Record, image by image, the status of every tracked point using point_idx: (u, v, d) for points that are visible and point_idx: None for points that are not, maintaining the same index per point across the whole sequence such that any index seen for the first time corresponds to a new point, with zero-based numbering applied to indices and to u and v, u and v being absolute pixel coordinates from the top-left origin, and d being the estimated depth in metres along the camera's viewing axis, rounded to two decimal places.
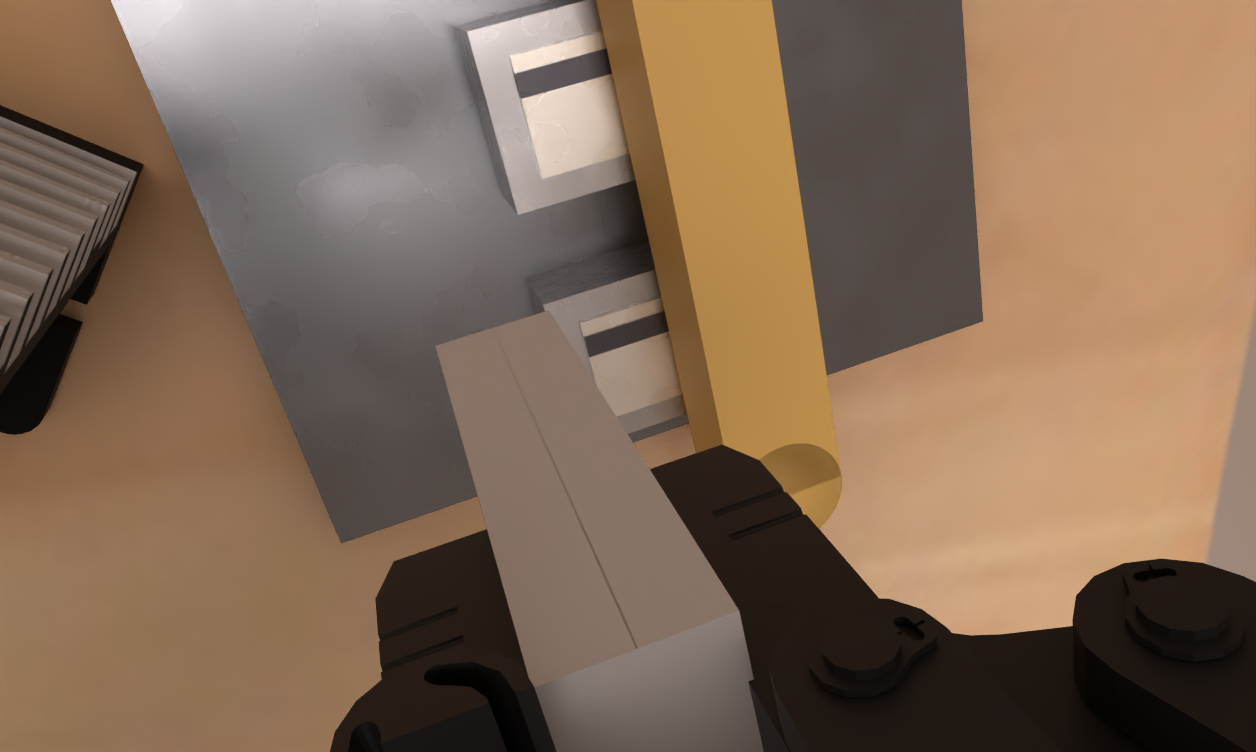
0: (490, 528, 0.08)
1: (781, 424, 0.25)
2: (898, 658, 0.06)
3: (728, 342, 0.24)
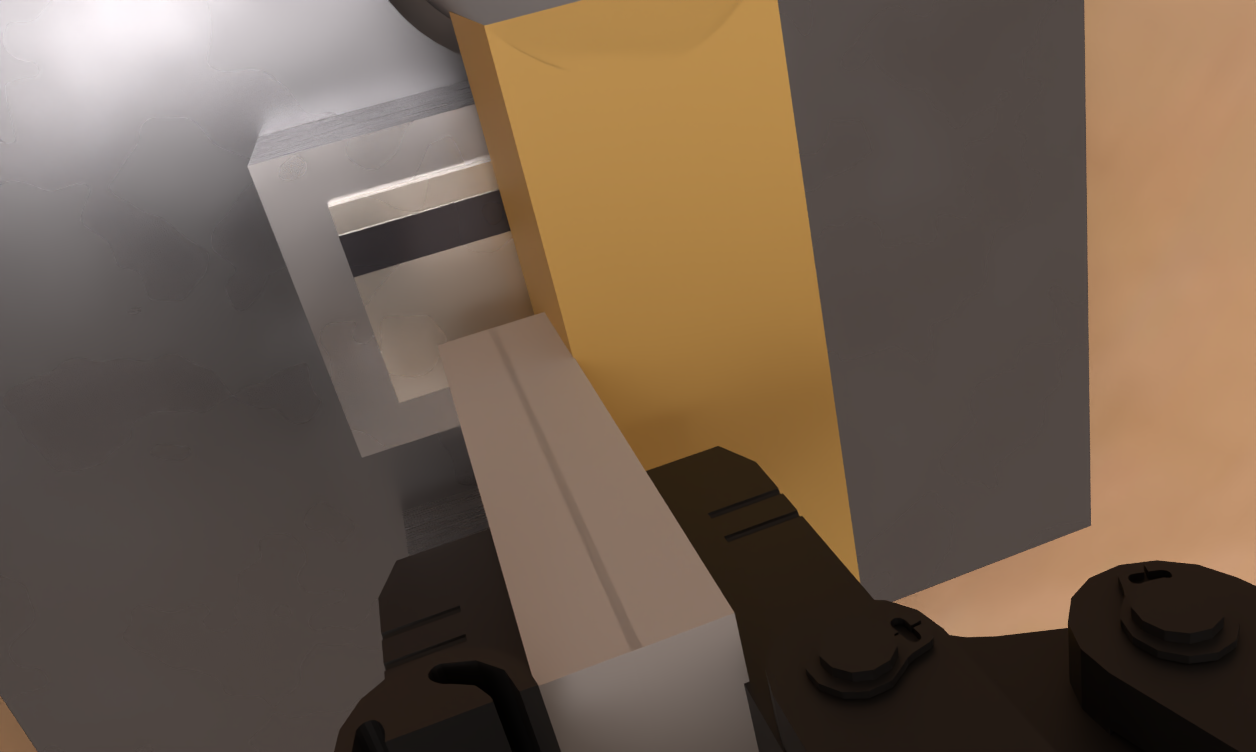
0: (493, 527, 0.08)
1: None
2: (894, 659, 0.06)
3: None
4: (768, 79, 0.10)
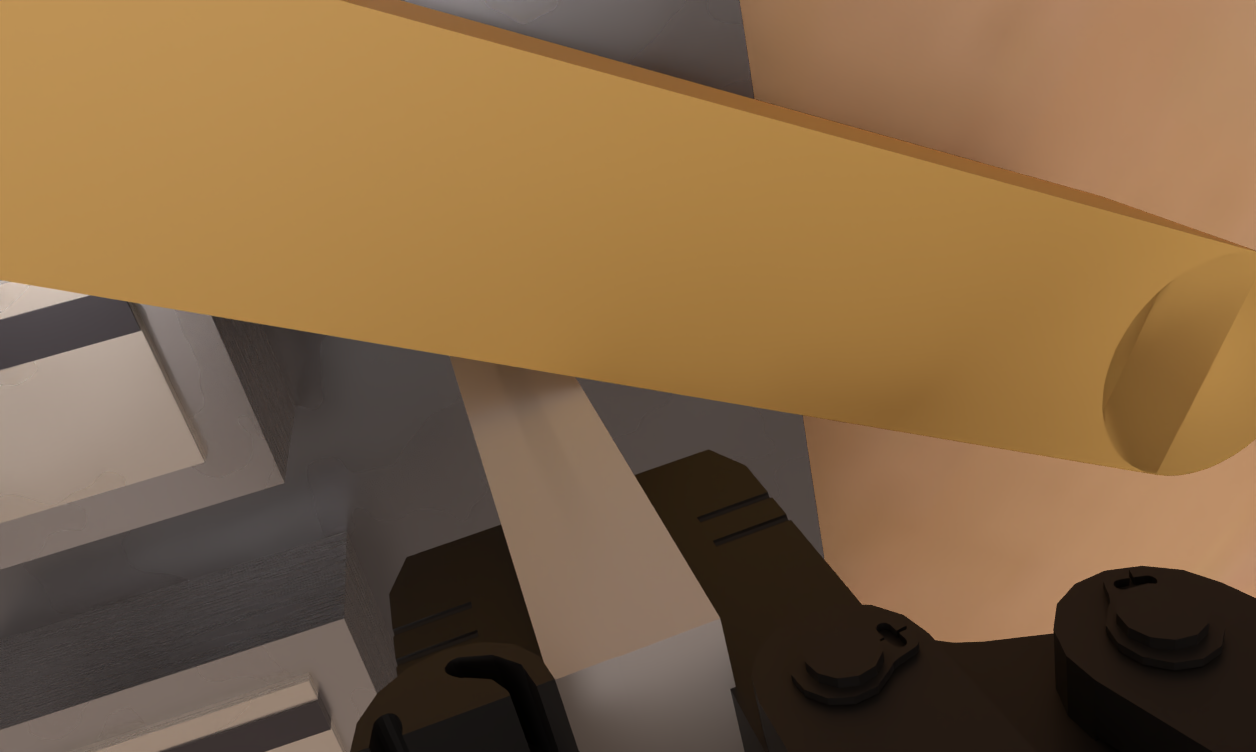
0: (504, 523, 0.08)
1: (1077, 331, 0.12)
2: (880, 665, 0.06)
3: (853, 368, 0.11)
4: None
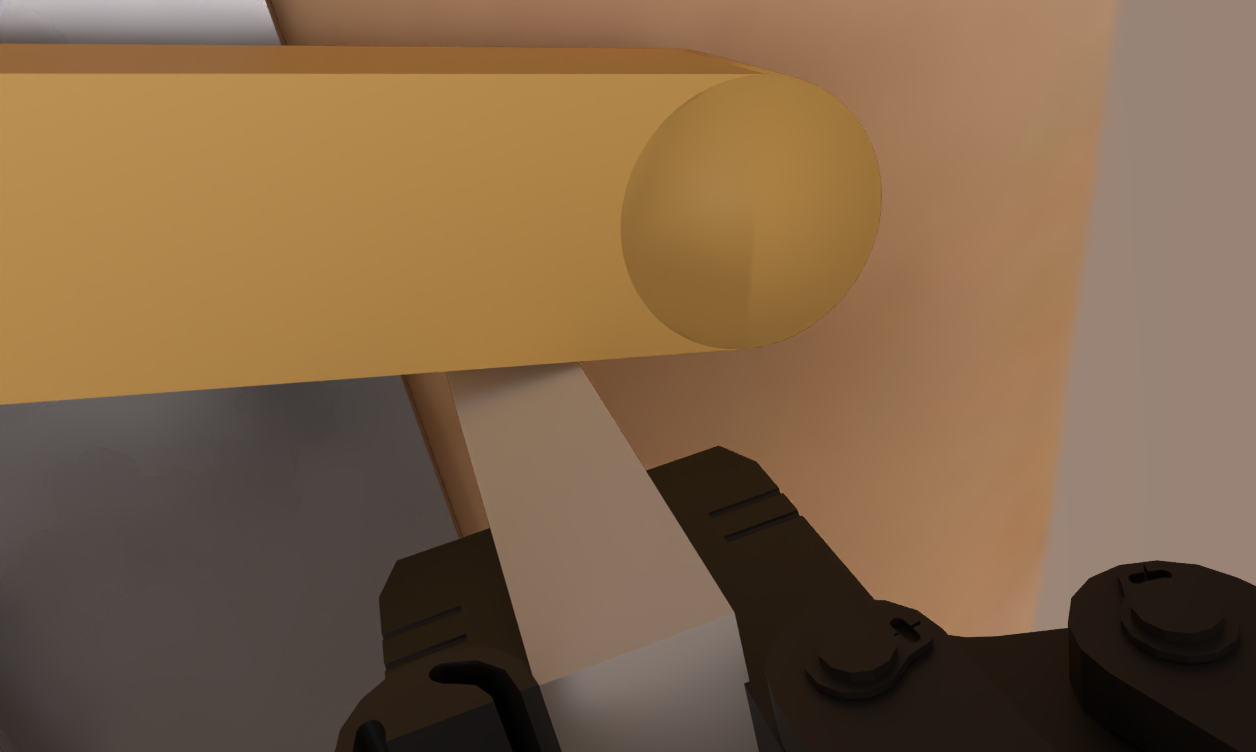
0: (493, 527, 0.08)
1: (561, 217, 0.10)
2: (894, 659, 0.06)
3: (296, 321, 0.10)
4: None
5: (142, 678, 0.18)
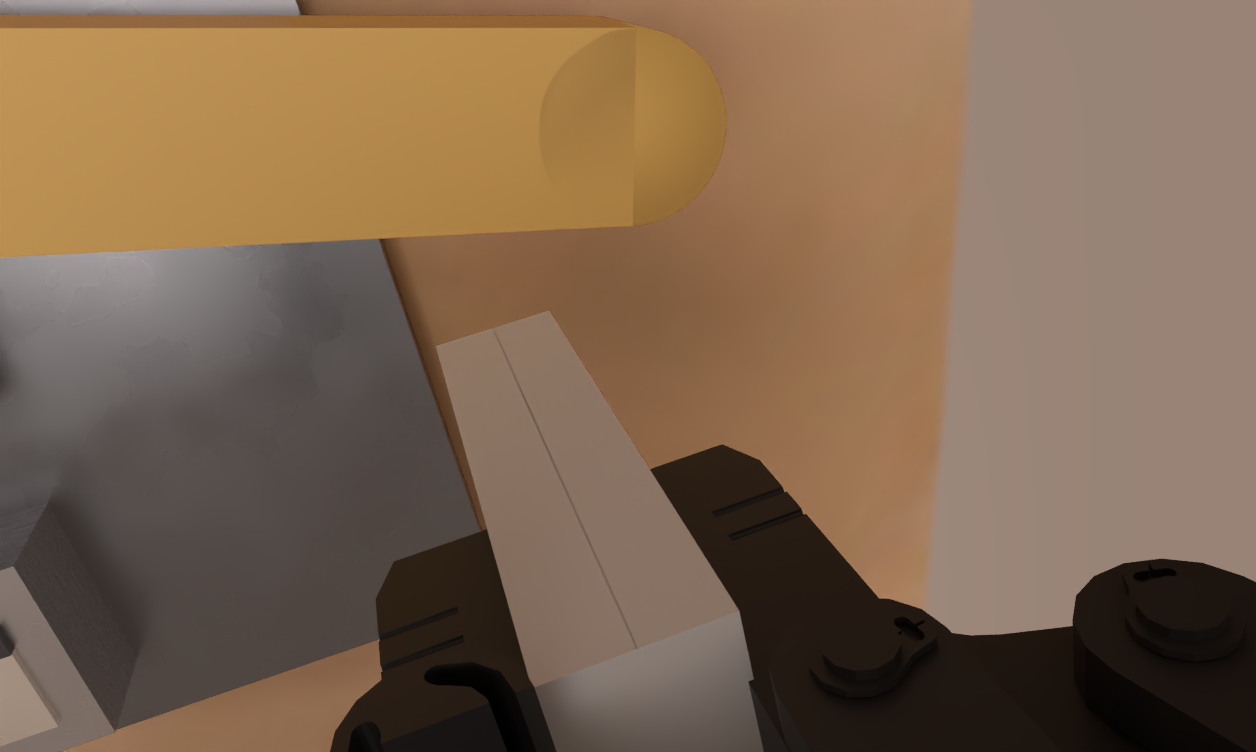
0: (490, 528, 0.08)
1: (496, 127, 0.15)
2: (898, 658, 0.06)
3: (316, 198, 0.14)
4: None
5: (192, 527, 0.22)
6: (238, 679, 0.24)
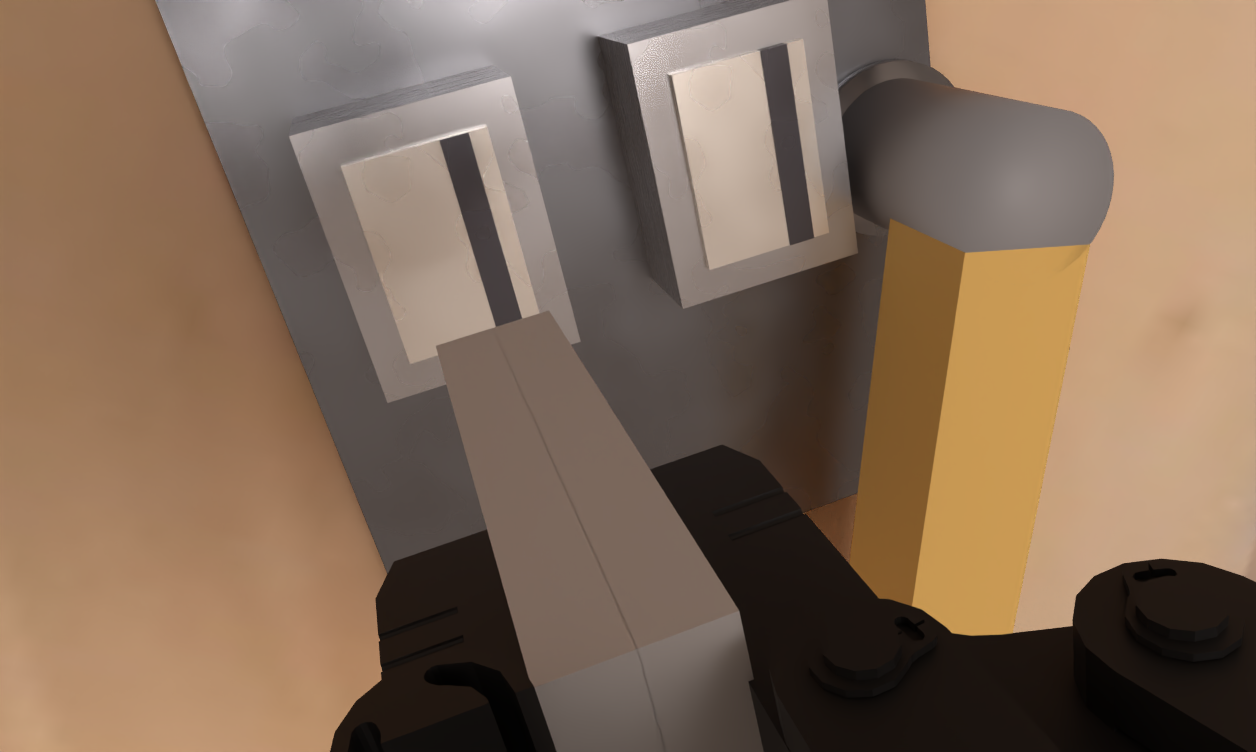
0: (490, 528, 0.08)
1: None
2: (898, 658, 0.06)
3: None
4: (1069, 300, 0.21)
5: None
6: (344, 444, 0.25)
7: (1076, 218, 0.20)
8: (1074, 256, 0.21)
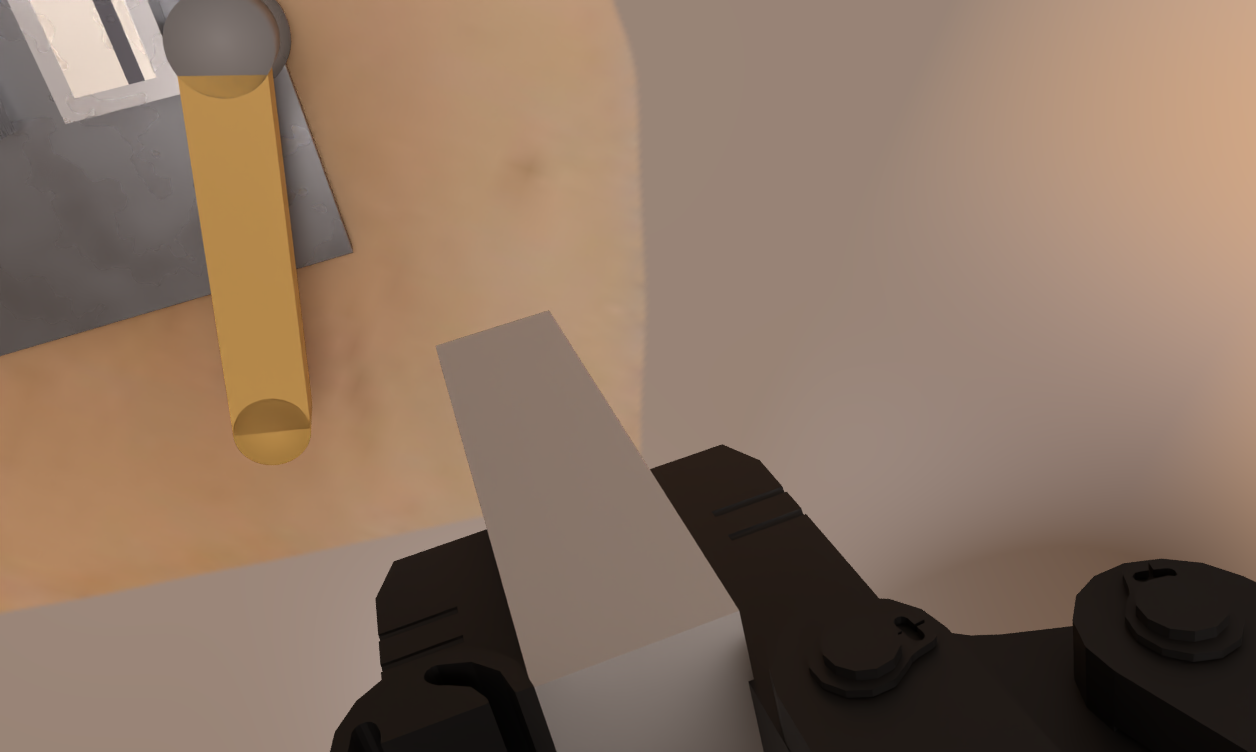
0: (490, 528, 0.08)
1: (268, 384, 0.40)
2: (898, 657, 0.06)
3: (233, 323, 0.38)
4: (265, 110, 0.36)
5: (2, 201, 0.40)
6: None
7: (252, 58, 0.35)
8: (259, 81, 0.35)
